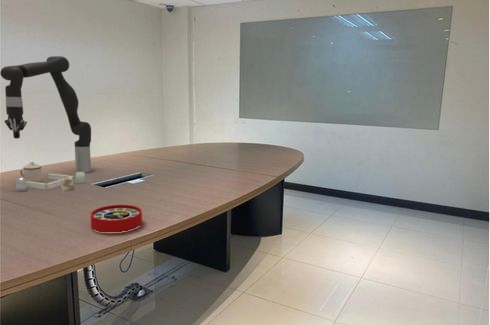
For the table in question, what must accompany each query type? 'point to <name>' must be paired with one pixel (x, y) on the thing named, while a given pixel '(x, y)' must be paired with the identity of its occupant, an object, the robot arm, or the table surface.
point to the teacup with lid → (32, 172)
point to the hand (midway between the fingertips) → (16, 138)
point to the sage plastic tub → (80, 177)
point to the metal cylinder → (21, 184)
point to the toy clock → (116, 218)
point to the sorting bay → (49, 185)
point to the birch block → (66, 184)
